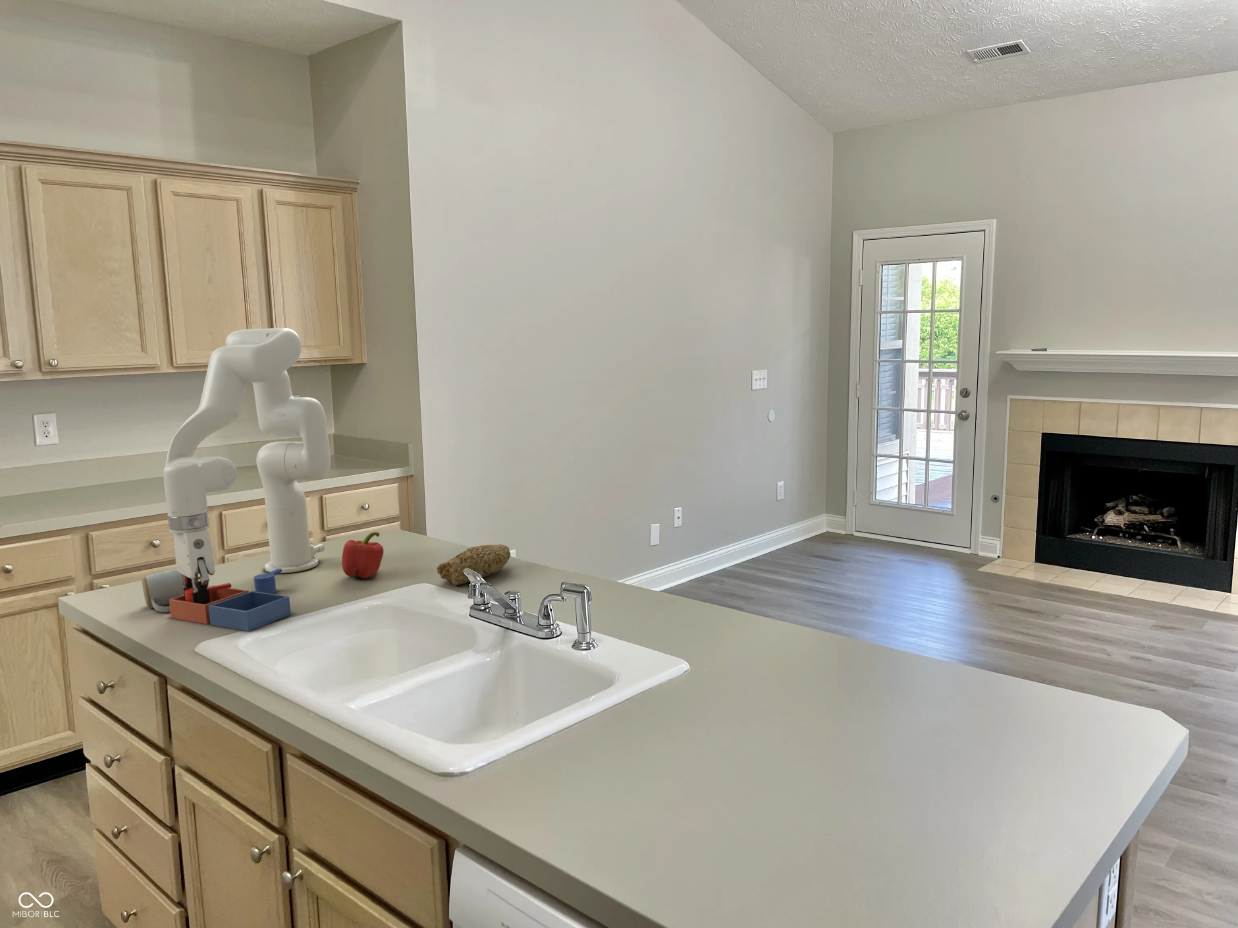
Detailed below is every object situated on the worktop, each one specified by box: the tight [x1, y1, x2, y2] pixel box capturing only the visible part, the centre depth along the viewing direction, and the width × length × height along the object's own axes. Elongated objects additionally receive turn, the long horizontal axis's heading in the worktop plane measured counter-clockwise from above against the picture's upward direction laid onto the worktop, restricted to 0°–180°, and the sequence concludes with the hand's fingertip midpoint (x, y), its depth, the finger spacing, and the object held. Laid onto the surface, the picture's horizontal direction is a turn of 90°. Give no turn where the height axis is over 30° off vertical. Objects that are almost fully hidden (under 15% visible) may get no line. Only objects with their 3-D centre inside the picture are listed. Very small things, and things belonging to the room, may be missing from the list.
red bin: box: [169, 585, 250, 625], centre depth 193 cm, size 11×11×4 cm
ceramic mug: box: [141, 567, 186, 613], centre depth 198 cm, size 11×8×8 cm
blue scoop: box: [253, 569, 282, 594], centre depth 209 cm, size 9×4×4 cm, turn 173°
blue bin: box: [208, 590, 292, 632], centre depth 187 cm, size 11×11×4 cm
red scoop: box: [185, 582, 232, 602], centre depth 193 cm, size 9×4×4 cm, turn 133°
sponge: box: [436, 543, 511, 586], centre depth 214 cm, size 13×8×20 cm
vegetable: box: [341, 531, 385, 579], centre depth 217 cm, size 11×10×10 cm
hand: (198, 606), depth 191 cm, fingers closed on red scoop, 4 cm apart
